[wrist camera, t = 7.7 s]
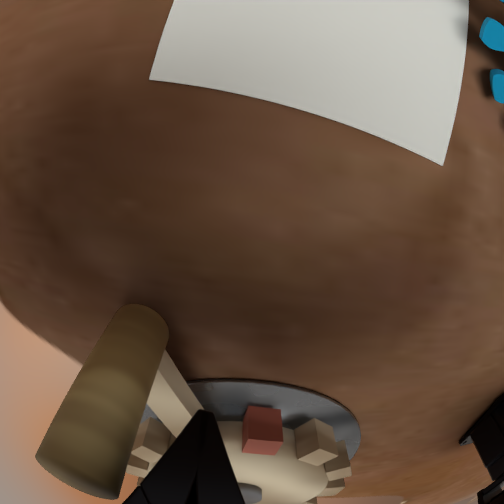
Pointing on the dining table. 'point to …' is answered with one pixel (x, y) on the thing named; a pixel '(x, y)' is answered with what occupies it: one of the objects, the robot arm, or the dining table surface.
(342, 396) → the dining table surface
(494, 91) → the gear
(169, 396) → the index wheel
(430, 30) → the mat
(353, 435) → the wheel base
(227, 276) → the dining table surface
